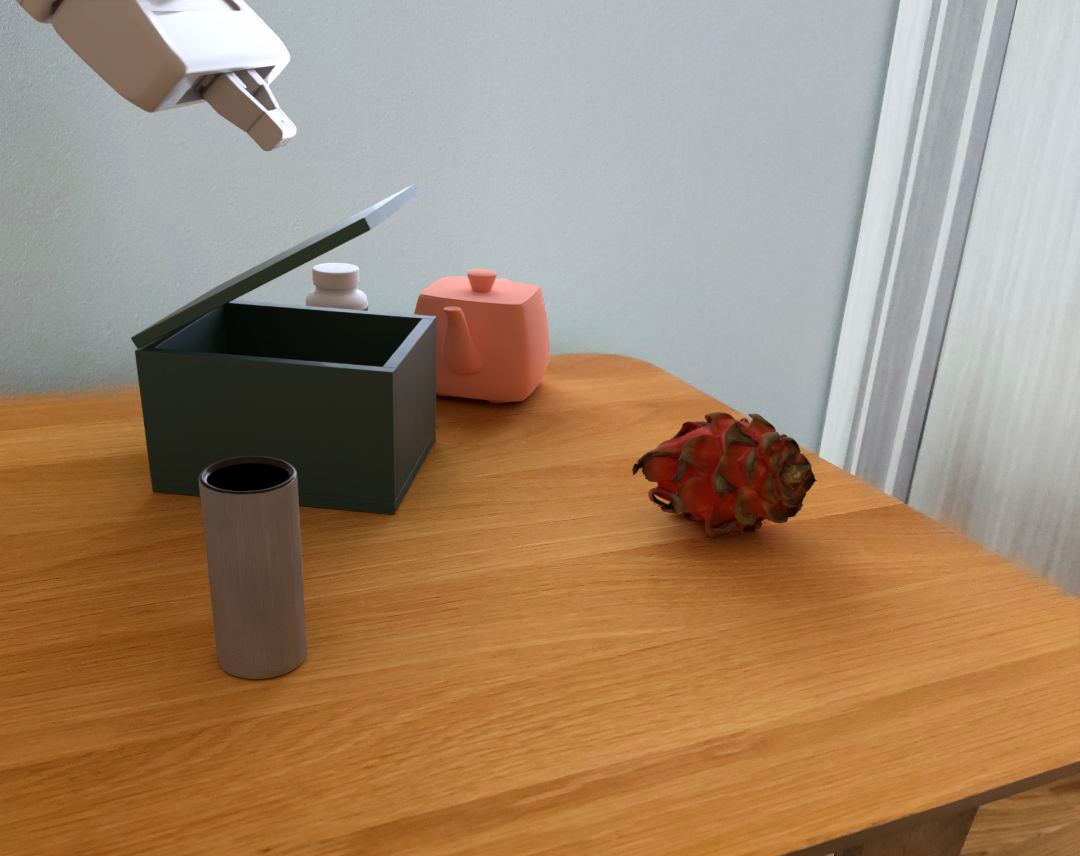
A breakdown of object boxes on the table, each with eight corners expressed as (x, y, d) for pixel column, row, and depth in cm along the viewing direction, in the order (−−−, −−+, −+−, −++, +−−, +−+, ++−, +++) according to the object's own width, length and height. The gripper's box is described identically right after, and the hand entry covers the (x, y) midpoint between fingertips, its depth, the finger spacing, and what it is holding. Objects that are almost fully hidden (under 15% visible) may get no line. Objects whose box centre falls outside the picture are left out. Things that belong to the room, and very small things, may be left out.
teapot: (561, 369, 101) (567, 258, 96) (513, 433, 85) (518, 304, 80) (446, 355, 103) (447, 246, 98) (378, 415, 87) (376, 289, 83)
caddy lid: (420, 194, 75) (415, 183, 74) (370, 229, 62) (364, 217, 62) (219, 297, 80) (213, 287, 79) (137, 349, 67) (129, 338, 67)
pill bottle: (299, 381, 94) (293, 270, 90) (324, 363, 99) (319, 258, 94) (356, 388, 93) (352, 277, 89) (378, 370, 98) (376, 264, 93)
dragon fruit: (815, 565, 70) (637, 561, 74) (818, 458, 74) (649, 458, 78) (815, 500, 63) (617, 498, 66) (818, 385, 67) (631, 388, 70)
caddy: (435, 440, 83) (436, 316, 78) (394, 514, 71) (392, 372, 66) (228, 422, 84) (217, 298, 80) (152, 492, 72) (134, 350, 68)
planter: (200, 653, 55) (180, 470, 50) (276, 623, 58) (264, 448, 53) (247, 691, 52) (229, 501, 47) (324, 658, 55) (315, 476, 50)
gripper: (158, 1, 75) (301, 156, 78) (-6, -2, 56) (190, 201, 60) (214, -69, 72) (358, 95, 76) (62, -96, 54) (262, 121, 58)
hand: (283, 142), depth 68 cm, fingers closed
